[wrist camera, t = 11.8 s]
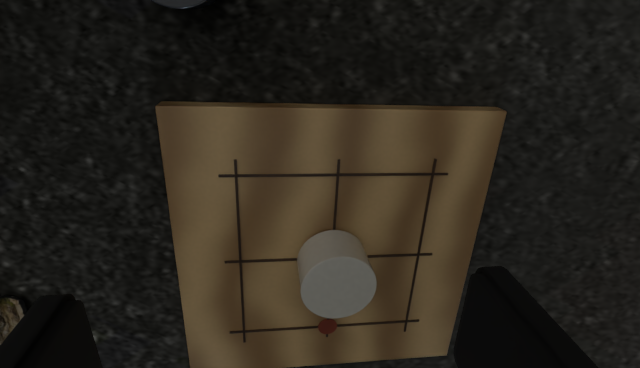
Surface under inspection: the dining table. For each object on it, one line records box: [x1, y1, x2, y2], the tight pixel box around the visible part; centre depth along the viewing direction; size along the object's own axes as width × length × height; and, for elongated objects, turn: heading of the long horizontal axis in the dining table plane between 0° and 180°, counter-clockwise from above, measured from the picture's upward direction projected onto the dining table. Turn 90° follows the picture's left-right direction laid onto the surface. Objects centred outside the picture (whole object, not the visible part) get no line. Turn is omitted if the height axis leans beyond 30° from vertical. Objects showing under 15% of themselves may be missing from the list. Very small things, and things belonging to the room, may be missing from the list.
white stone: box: [297, 230, 377, 318], centre depth 24 cm, size 5×5×3 cm
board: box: [155, 101, 507, 368], centre depth 26 cm, size 20×20×1 cm
